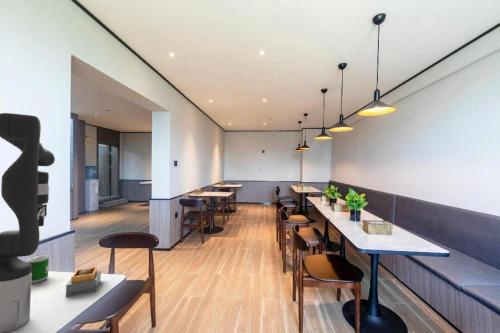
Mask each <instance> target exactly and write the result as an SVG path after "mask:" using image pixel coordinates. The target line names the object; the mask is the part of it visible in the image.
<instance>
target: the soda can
mask: <svg viewBox="0 0 500 333" xmlns="http://www.w3.org/2000/svg"><path fill="white" fill-rule="evenodd" d="M49 260H50V257H49V255H47V254H44V253H43V254H36V255H32V256H31V257H30V258H29V259H28V262H27V263H30V264H31V265H32V277H31V284H39V283H41V282H42V283H43V282H44V281H45V280H46V279H47V278H48V277H49Z"/></svg>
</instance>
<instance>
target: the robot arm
mask: <svg viewBox="0 0 500 333" xmlns="http://www.w3.org/2000/svg"><path fill="white" fill-rule="evenodd" d="M41 127H42V126H41V120H40V119H39V118H38V117H37V116H35V115H30V114H22V113H21V114H20V113H11V112H3V113H2V112H1V113H0V138H1V139H2V140H4V141H5V142H7V143H9V144H11V145H12V146H13V147H16V148H17V149H18V150H19V151H20V152H21V153H20V155H19V156H18V157H17V158H16V159H15V161H13V162H12V163H11V165H9V167H8V168H7V169H6V170H5V171H4V173H3V174H2V175H1V185H0V187H1V189H0V192H1V197H2V199H3V201H4V202H5V204H6V205H7V206H8V207H9V209H10V210H11V211H12V212H13V214H14V215H15V216H16V220H17V221H18V222H17V223H18V230H17V229H16V230H15V229H13V230H5V231H1V232H0V333H9V332H13V331H17V330H18V329H19V328H20V327H22V326H24V325H25V324H27V323H28V322H29V320H30V318H31V293H32V283H31V277H32V265H31V264H30V263H28V262H27V261H25V260H21V259H20V257H21V258H22V257H29V256H33V254H34V253H35V252H36V251H37V249H38V247H39V244H40V227H44V225H45V218H46V217H47V207H48V206H47V204H48V203H49V196H50V194H49V193H50V192H49V191H50V187H49V179H50V178H49V177H50V175H49V172H47V171H46V170H45V171H44V170H39V167H50V166H53V164H55V161H56V158H55V155H54V153H53V152H51V151H50V150H49V149H47V148H45V147H44V146H43V144H42V143H41V133H42V132H41V131H42V130H41V129H42V128H41Z"/></svg>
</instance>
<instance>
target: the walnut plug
mask: <svg viewBox="0 0 500 333" xmlns="http://www.w3.org/2000/svg"><path fill="white" fill-rule="evenodd" d="M83 269H84V270H81V271H80V272H79V276H80V275H87V274H91V269H87V268H83Z"/></svg>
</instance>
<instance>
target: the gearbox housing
mask: <svg viewBox="0 0 500 333" xmlns="http://www.w3.org/2000/svg"><path fill="white" fill-rule="evenodd" d="M84 269H85V268H81V269H76V270H75V271H74V273H73V274H72V276H71V278H70V279H69V281H68V282H67V283H66V285H65V287H66V288H65V297H73V296H78V295H81V294H82V295H83V294H88V293H89V294H90V293H93V292H97V289H98V287H99V285H100V282H101V278H102V271H101V270H98V267H90V268H89V267H88V268H86V269H91V274H87V275H80V276H79V272H80V271H81V270H84Z"/></svg>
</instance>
